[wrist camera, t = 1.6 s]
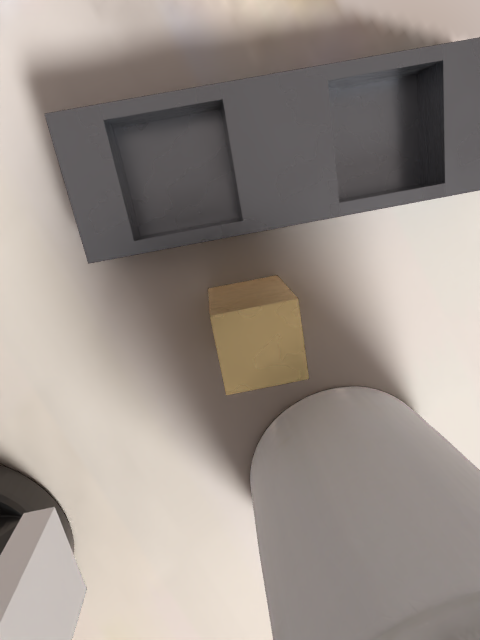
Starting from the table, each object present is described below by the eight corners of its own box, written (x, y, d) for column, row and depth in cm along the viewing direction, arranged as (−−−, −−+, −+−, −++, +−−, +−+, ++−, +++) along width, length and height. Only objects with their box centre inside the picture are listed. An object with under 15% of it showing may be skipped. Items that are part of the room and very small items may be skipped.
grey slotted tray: (101, 255, 24) (88, 263, 21) (65, 124, 22) (44, 113, 19) (458, 188, 25) (491, 188, 22) (457, 54, 23) (494, 34, 20)
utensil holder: (413, 343, 28) (731, 569, 11) (456, 504, 32) (725, 835, 16) (213, 421, 28) (228, 751, 12) (283, 569, 33) (367, 958, 16)
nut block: (221, 352, 27) (226, 395, 21) (208, 288, 25) (209, 315, 20) (286, 339, 27) (309, 379, 21) (277, 275, 25) (298, 298, 20)
